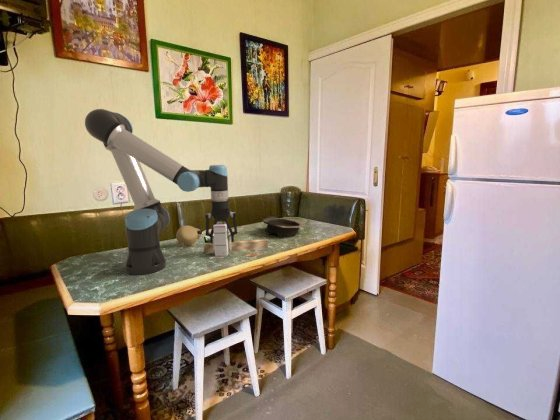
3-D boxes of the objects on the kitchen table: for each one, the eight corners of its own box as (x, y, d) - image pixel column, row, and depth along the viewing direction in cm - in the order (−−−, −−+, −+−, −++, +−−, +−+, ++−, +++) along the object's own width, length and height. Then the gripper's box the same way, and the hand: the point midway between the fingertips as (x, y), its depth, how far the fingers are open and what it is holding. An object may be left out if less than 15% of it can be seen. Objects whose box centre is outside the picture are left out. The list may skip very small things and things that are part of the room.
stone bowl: (252, 233, 175) (253, 217, 174) (284, 229, 192) (285, 214, 191) (282, 241, 157) (282, 223, 156) (314, 235, 174) (314, 219, 173)
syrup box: (227, 256, 137) (226, 224, 134) (214, 256, 137) (213, 224, 134) (229, 252, 143) (228, 221, 140) (216, 252, 142) (215, 221, 140)
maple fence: (202, 259, 132) (202, 251, 132) (204, 251, 144) (204, 243, 143) (270, 254, 138) (270, 246, 137) (267, 247, 149) (267, 239, 148)
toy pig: (204, 246, 153) (203, 225, 151) (180, 250, 146) (178, 229, 144) (198, 241, 161) (196, 222, 159) (174, 245, 154) (173, 225, 152)
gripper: (196, 202, 130) (199, 253, 134) (242, 200, 133) (244, 250, 137) (197, 199, 137) (201, 248, 141) (241, 198, 140) (243, 245, 145)
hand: (222, 249), depth 139 cm, fingers open, 7 cm apart
